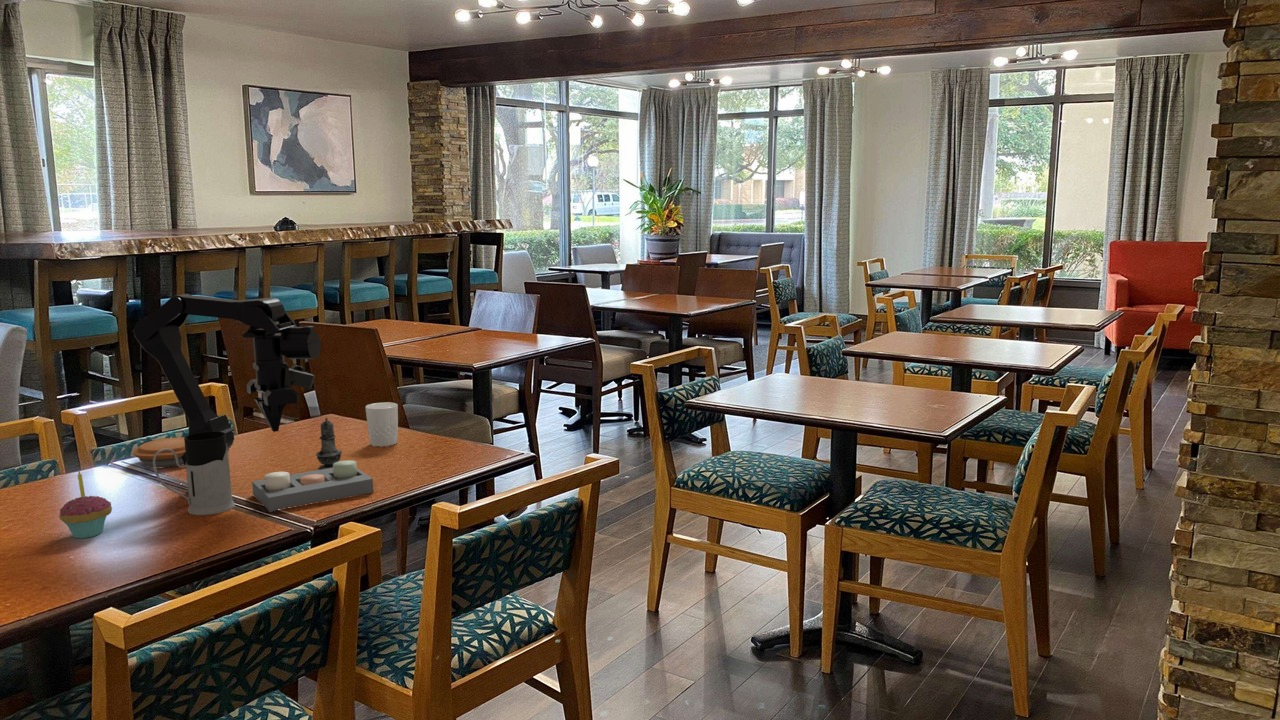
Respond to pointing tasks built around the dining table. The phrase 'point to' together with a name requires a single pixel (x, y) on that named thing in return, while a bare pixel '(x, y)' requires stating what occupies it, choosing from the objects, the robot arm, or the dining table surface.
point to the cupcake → (85, 514)
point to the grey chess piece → (328, 446)
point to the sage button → (344, 469)
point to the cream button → (277, 481)
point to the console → (312, 490)
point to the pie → (164, 457)
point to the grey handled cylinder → (205, 473)
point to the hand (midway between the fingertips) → (275, 431)
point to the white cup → (382, 423)
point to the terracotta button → (311, 479)
